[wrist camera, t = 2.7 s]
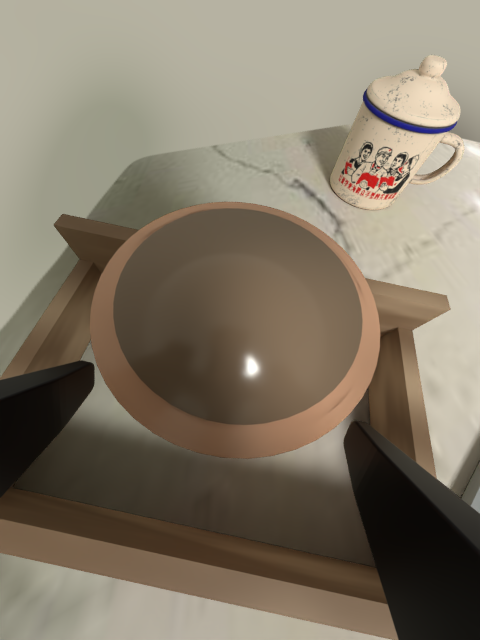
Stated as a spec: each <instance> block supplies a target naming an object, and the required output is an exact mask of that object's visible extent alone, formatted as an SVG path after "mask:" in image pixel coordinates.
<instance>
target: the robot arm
mask: <svg viewBox="0 0 480 640" xmlns="http://www.w3.org/2000/svg"><path fill="white" fill-rule="evenodd" d="M93 387H94V364H93V363H91V362H86V361H76V362H72V363H68V364H64V365H59V366H55V367H51V368H47V369H43V370H39V371H35V372H31V373H27V374H23V375H19V376H14V377H10V378H6V379H2V380H0V498H1V497H2V496H3V495H4V494H5V492H6V491H7V490H8V489H9V488H10V487H11V486H12V485H13V484H14V483H15V481H16V480H17V479H18V478H19V477H20V476H21V475H22V474H23V473H24V471H25V470H26V469H27V468H28V467H29V466H30V465H31V464H32V463H33V462H34V460H35V459H36V458H37V457H38V456H39V455H40V454H41V453H42V452H43V451H44V449H45V448H46V447H47V446H48V445H49V444H50V443H51V442H52V441H53V439H54V438H55V437H56V436H57V435H58V434H59V433H60V431H61V430H62V429H63V428H64V427H65V425H66V424H67V423H68V422H69V420H70V419H71V418H72V416H73V415H74V414H75V412H76V411H77V410H78V408H79V407H80V406H81V404H82V403H83V402H84V400H85V399H86V398H87V396H88V395H89V394H90V392H91V391H92V389H93ZM344 449H345V454H346V459H347V464H348V469H349V473H350V478H351V483H352V488H353V492H354V496H355V499H356V503H357V506H358V509H359V513H360V516H361V519H362V522H363V526H364V529H365V532H366V535H367V539H368V542H369V545H370V548H371V552H372V555H373V558H374V562H375V565H376V568H377V571H378V575H379V578H380V581H381V584H382V588H383V591H384V594H385V597H386V601H387V604H388V607H389V610H390V614H391V617H392V620H393V624H394V627H395V630H396V633H397V637H398V640H480V513H479V512H477V511H476V510H475V509H474V508H472V507H471V506H470V505H469V504H467V503H466V502H465V501H464V500H462V499H461V498H460V497H459V496H457V495H456V494H455V493H454V492H452V491H451V490H450V489H449V488H447V487H446V486H445V485H444V484H442V483H441V482H440V481H439V480H437V479H436V478H435V477H434V476H432V475H431V474H430V473H429V472H427V471H426V470H425V469H424V468H422V467H421V466H420V465H419V464H417V463H416V462H415V461H414V460H413V459H411V458H410V457H409V456H408V455H406V454H405V453H404V452H403V451H401V450H400V449H399V448H398V447H396V446H395V445H394V444H393V443H391V442H390V441H389V440H388V439H386V438H385V437H384V436H383V435H381V434H380V433H379V432H378V431H376V430H375V429H374V428H373V427H371V426H370V425H369V424H368V423H366V422H362V421H357V420H353V421H352V422H351V424H350V426H349V428H348V431H347V433H346V435H345V438H344Z"/></svg>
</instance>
